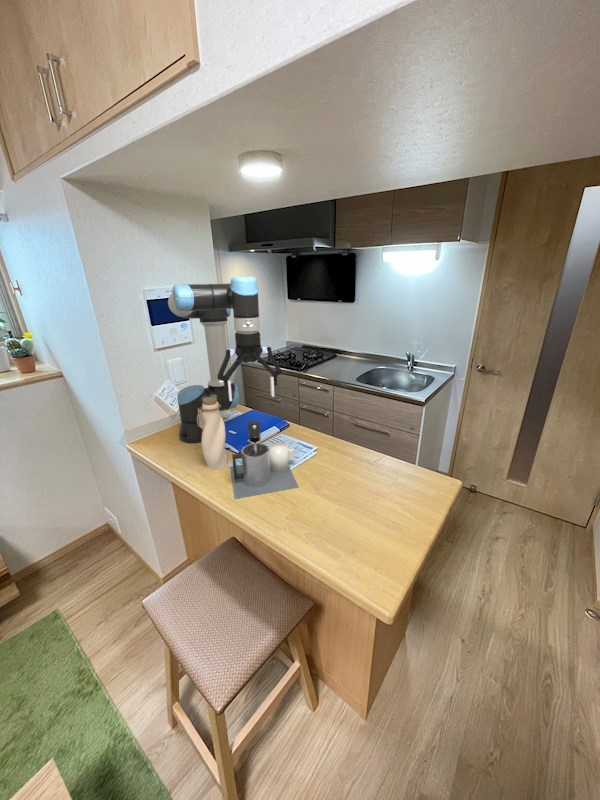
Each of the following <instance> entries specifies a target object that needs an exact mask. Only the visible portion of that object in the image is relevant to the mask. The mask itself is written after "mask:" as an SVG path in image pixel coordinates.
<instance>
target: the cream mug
mask: <svg viewBox="0 0 600 800" xmlns="http://www.w3.org/2000/svg"><path fill="white" fill-rule="evenodd" d="M268 446H269V449H270V462H271V472H273V473H284V472H286V471H287V470H288V469H289V467H290V462H289V461H291V460H295V459H296V454H295V453H296V451H295V448H289V445H288V444H287V443H286V442H282V441H276V442H272V443H270V444H269V445H268Z"/></svg>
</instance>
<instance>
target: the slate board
mask: <svg viewBox="0 0 600 800" xmlns="http://www.w3.org/2000/svg"><path fill="white" fill-rule="evenodd" d="M229 468H230V469H229V470H230V477H231V483H232V484H231V485H232V491H233V499H234V500H238V499H243V498H244V499H245V498H250V497H256V496H260V495H266V494H272V493H277V492H282V491H287V490H292V489H298V488H300V487H299V485H298V482H297V480H296V477H295V476H294V474H293V471H292V469H291V467H290V466H289V469H288V470H287V471H286V472H284V473H273V472H271V480H270V482H269V483H268V484H266V485H265V486H262V487H249V486H248V485H246V484H245V483H244V478H240V479H236V480H235V479H234V471H233V465H232V466H229ZM236 469H237V474H240V473H243V465H242V464H240V465H239V464H238V465H236Z"/></svg>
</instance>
